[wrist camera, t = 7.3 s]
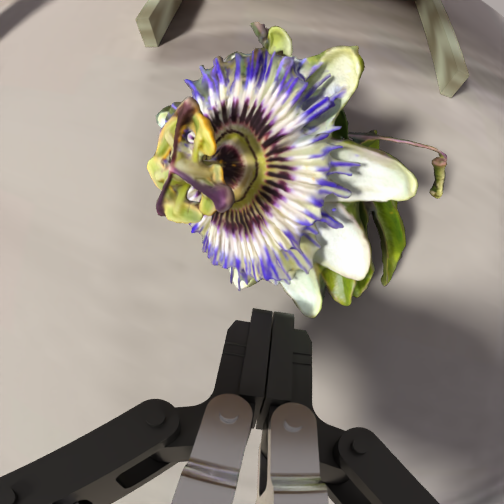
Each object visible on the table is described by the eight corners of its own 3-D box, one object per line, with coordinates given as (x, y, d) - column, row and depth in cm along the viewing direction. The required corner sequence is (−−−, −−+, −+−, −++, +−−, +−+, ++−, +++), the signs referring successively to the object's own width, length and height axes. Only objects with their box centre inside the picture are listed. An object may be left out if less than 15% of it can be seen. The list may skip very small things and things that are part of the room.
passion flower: (227, 248, 22) (94, 127, 13) (344, 146, 21) (263, -5, 13) (323, 382, 14) (121, 283, 6) (476, 233, 14) (466, 2, 5)
